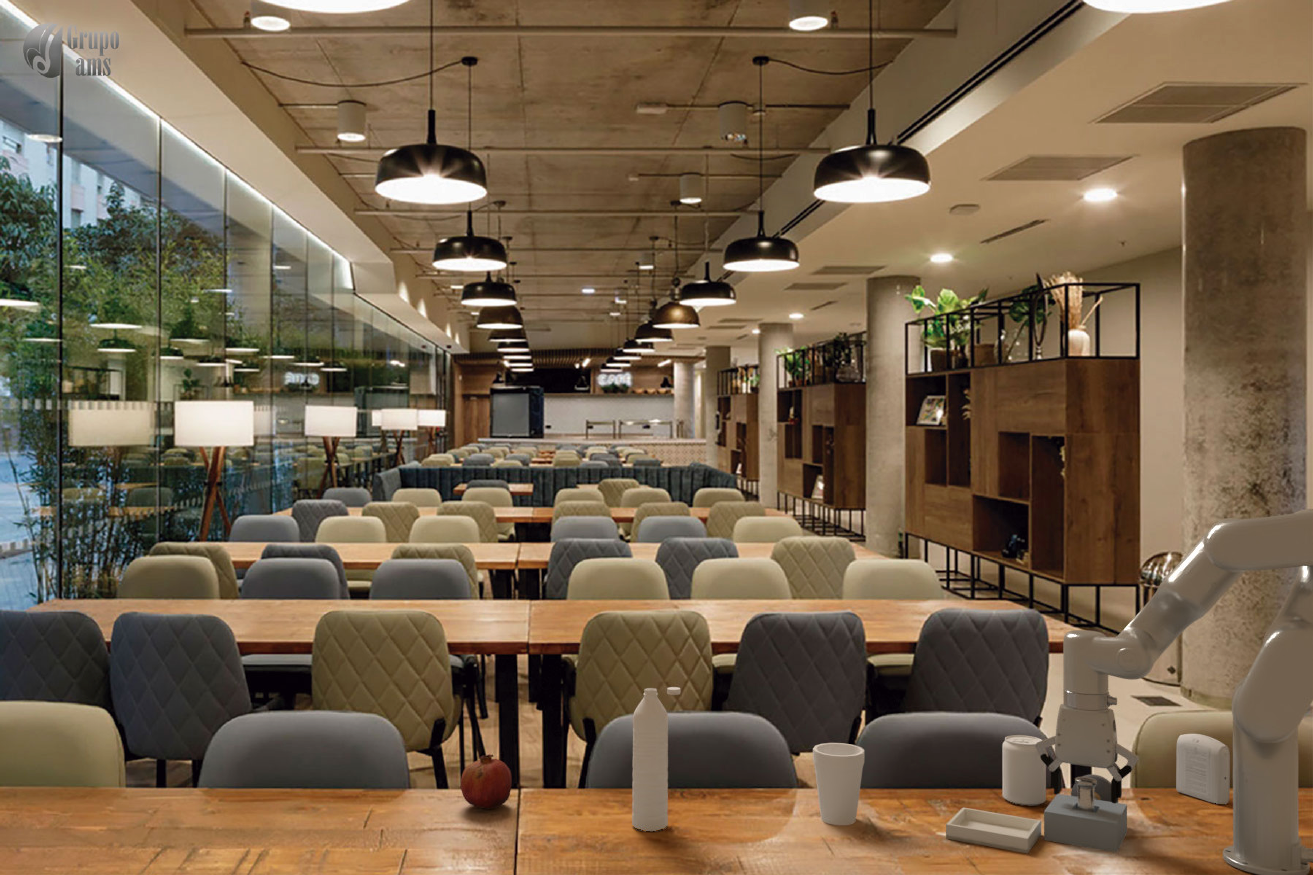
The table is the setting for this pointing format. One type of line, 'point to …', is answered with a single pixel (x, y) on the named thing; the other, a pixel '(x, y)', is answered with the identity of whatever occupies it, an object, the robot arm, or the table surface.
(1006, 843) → the tray
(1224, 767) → the photo printer
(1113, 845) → the tensioner block
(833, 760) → the foam cup
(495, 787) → the fruit
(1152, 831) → the table surface
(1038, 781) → the beverage can
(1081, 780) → the lock pin
